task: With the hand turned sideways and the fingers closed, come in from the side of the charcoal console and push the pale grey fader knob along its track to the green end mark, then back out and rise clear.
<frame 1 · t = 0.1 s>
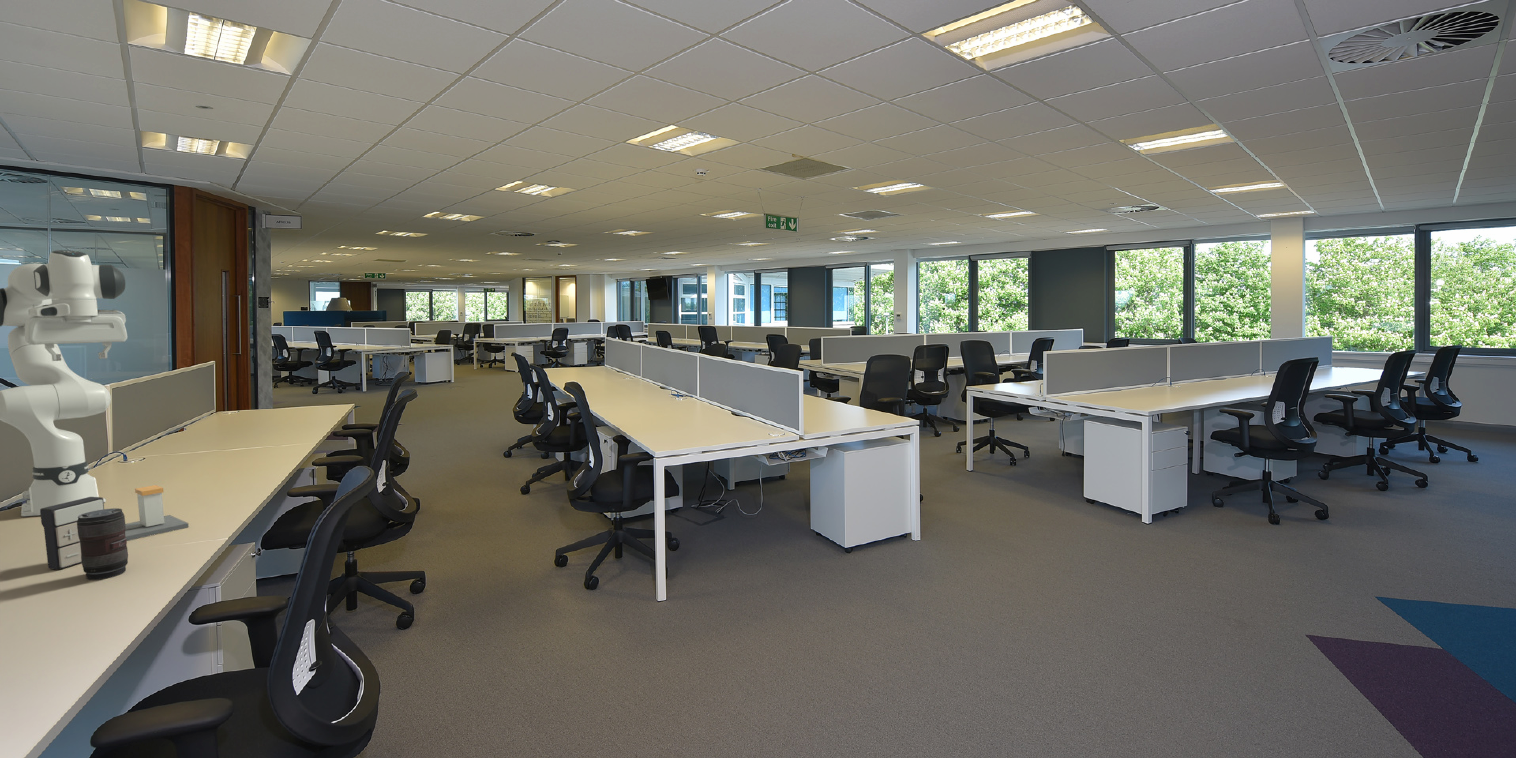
hand: (80, 359, 190), 48 cm above the table, tool pointing down, fingers open, 8 cm apart
calculator: (79, 562, 169), on the table
fader console: (125, 534, 189), on the table
camera lens: (106, 575, 161), on the table
fader knob: (150, 505, 193), point 7 cm above the table, slide at 0.0 cm
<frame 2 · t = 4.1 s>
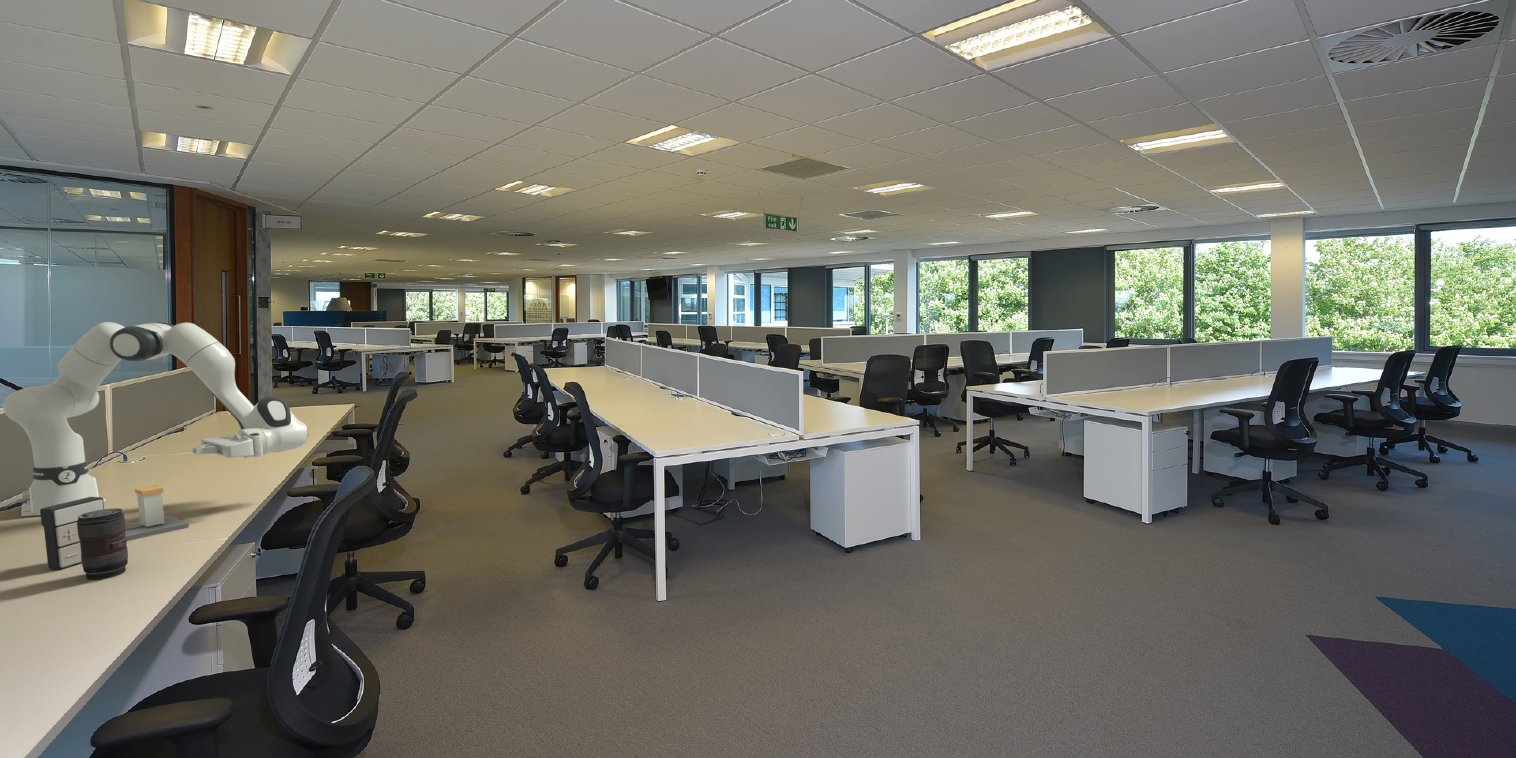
hand: (194, 451, 201), 20 cm above the table, tool horizontal, fingers closed
nothing on the table moved.
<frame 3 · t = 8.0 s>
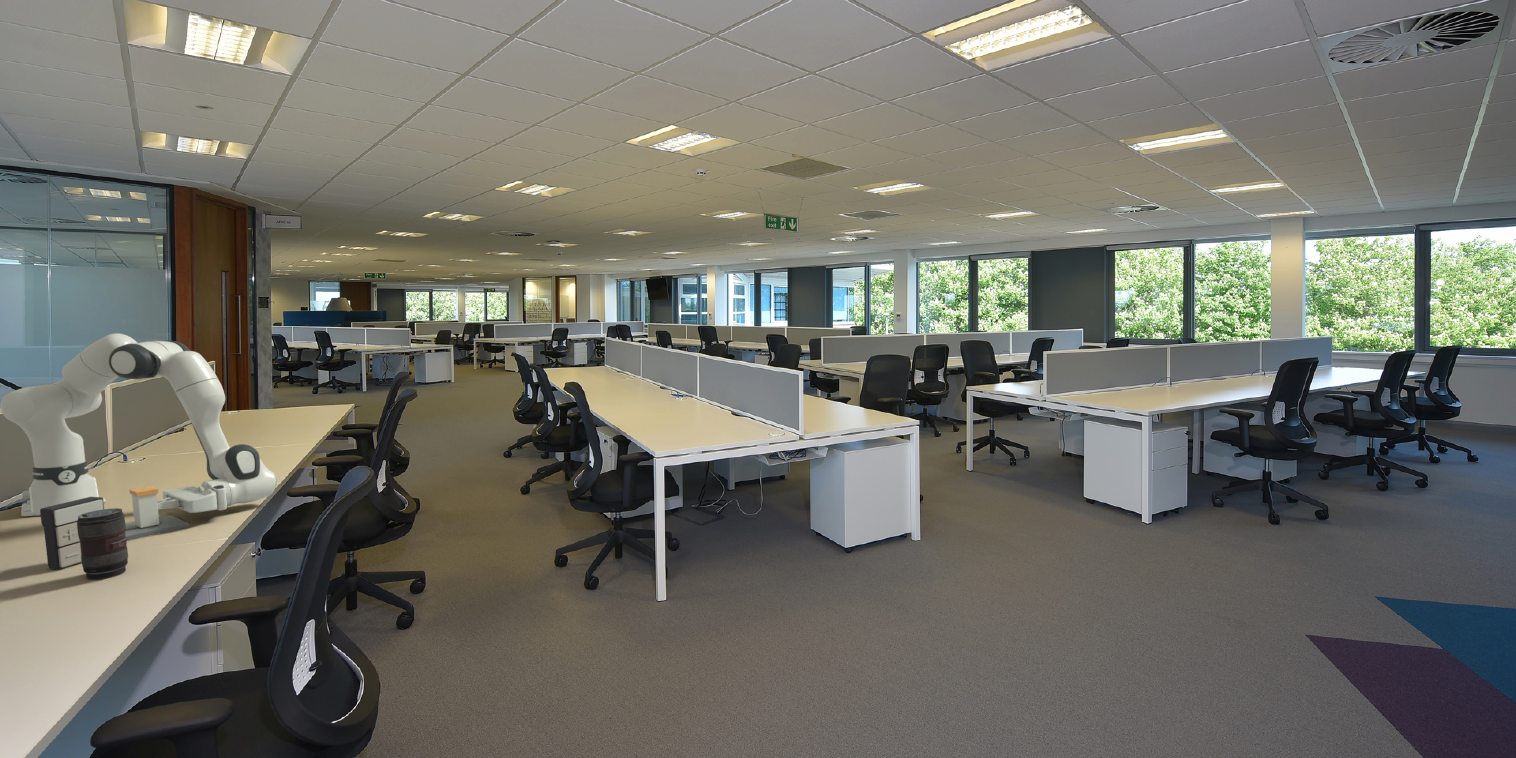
hand: (154, 505, 194), 6 cm above the table, tool horizontal, fingers closed, pressing on fader knob
fader knob: (145, 506, 192), point 7 cm above the table, slide at 1.2 cm, touching gripper
everything else where it was.
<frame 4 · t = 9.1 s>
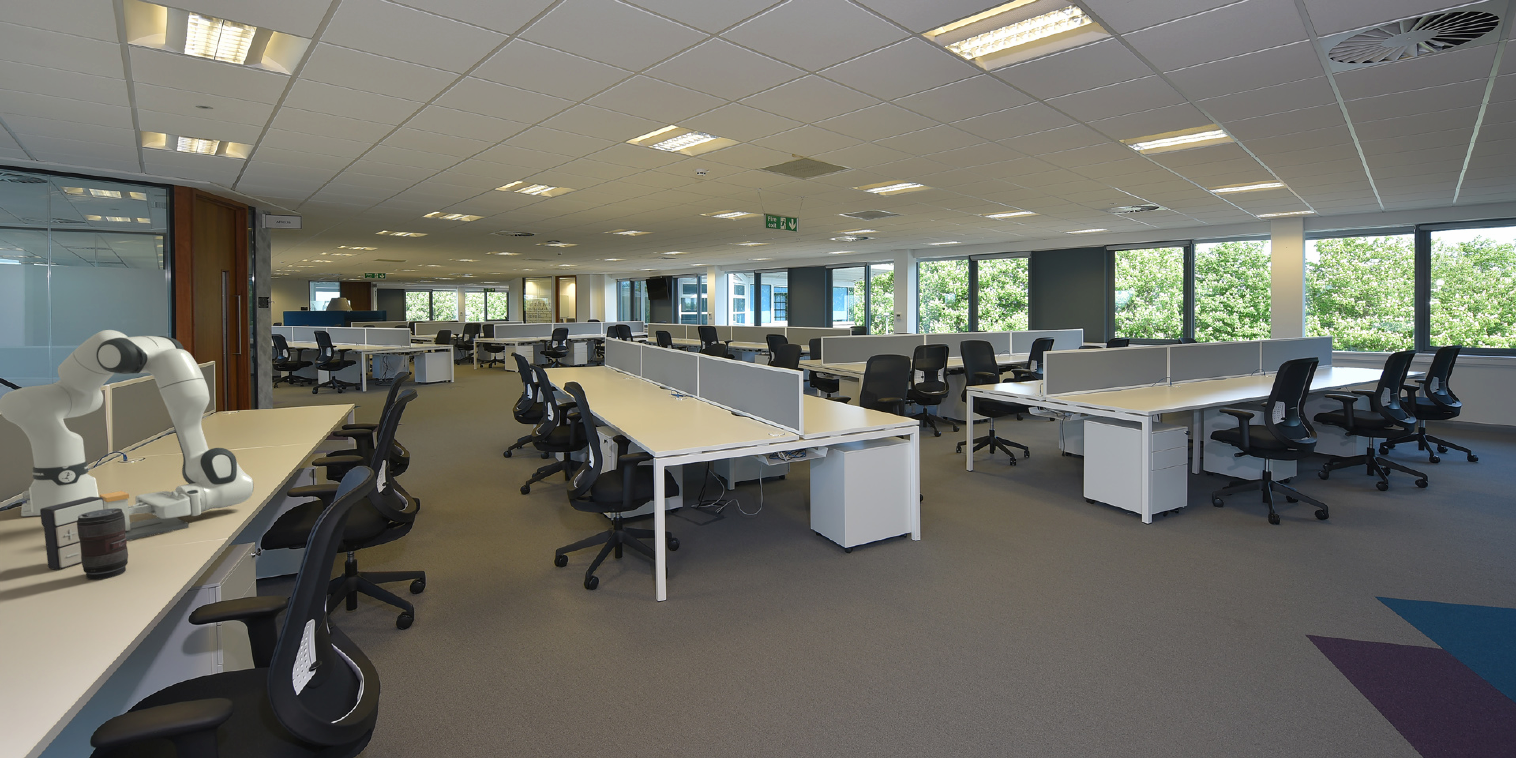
hand: (125, 511, 189), 6 cm above the table, tool horizontal, fingers closed, pressing on fader knob
fader knob: (116, 512, 187), point 7 cm above the table, slide at 7.4 cm, touching gripper
everything else where it was.
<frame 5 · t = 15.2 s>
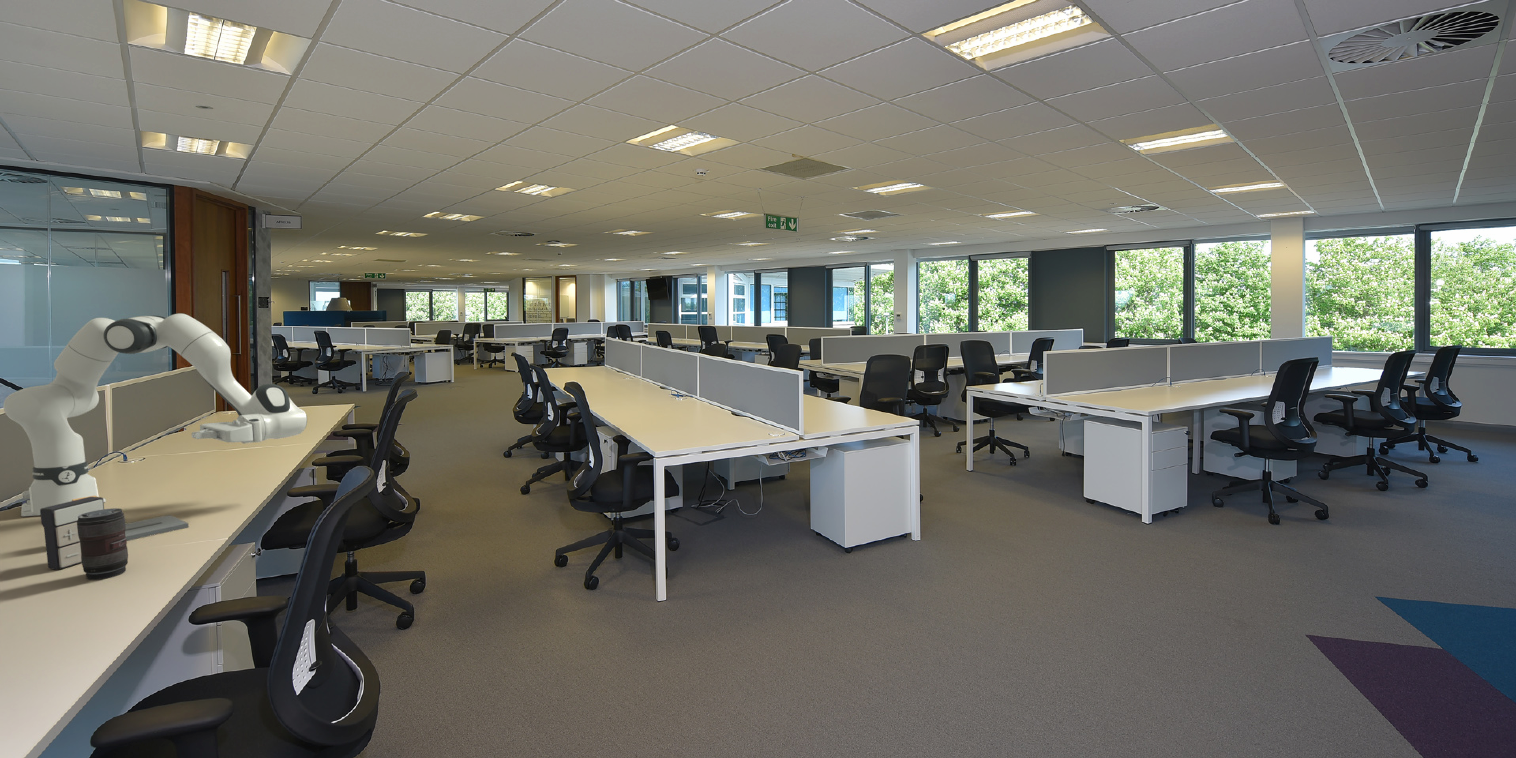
hand: (193, 435, 201), 25 cm above the table, tool horizontal, fingers closed
fader knob: (88, 517, 183), point 7 cm above the table, slide at 12.9 cm
everything else where it was.
at the end: fader knob slide at 12.9 cm; calculator moved 0.2 cm from its start; camera lens moved 0.2 cm from its start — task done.
